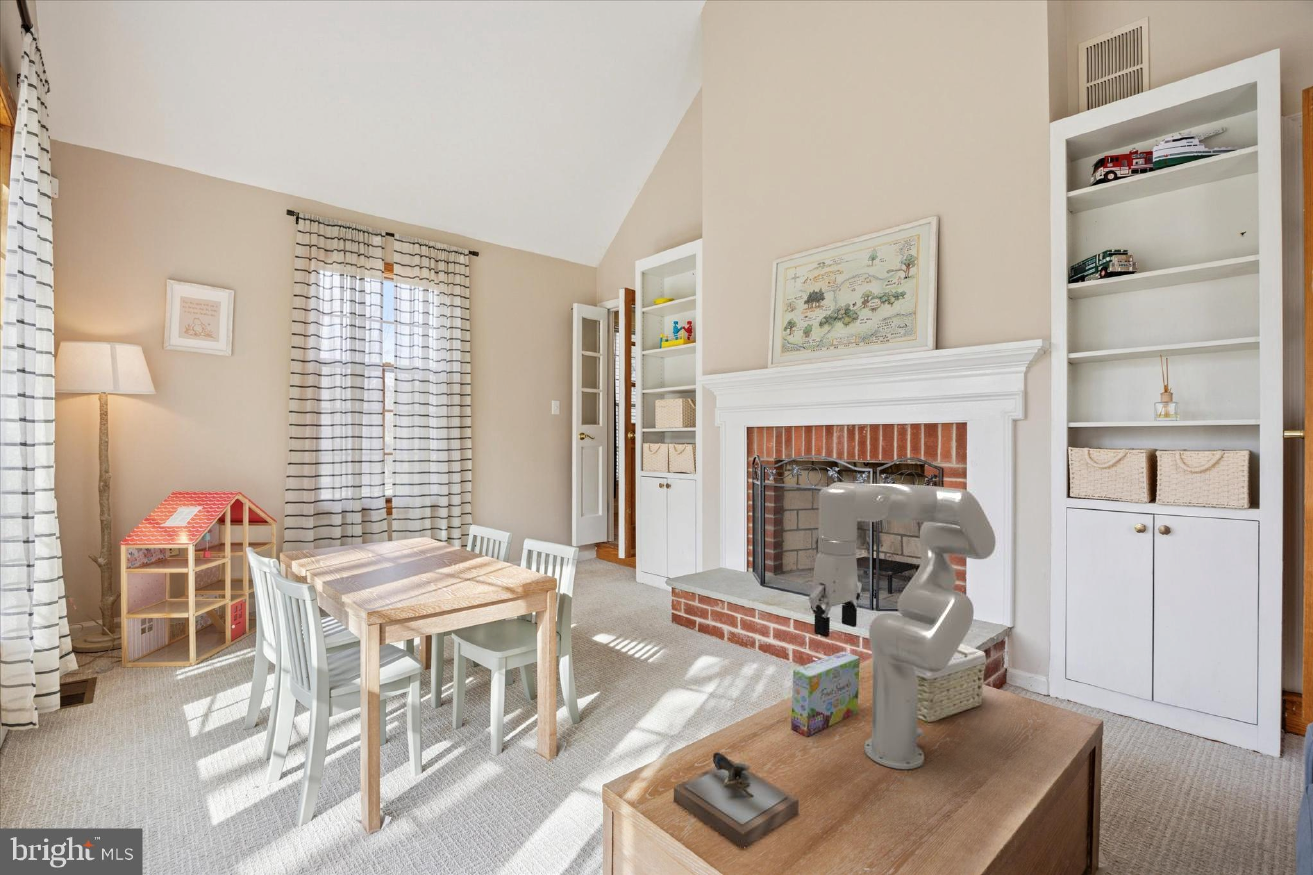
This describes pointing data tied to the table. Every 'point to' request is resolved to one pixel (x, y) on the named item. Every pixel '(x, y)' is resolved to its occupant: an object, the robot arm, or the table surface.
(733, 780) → the eagle figurine
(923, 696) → the storage basket
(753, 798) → the picture frame
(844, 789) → the table surface
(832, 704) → the snack box
